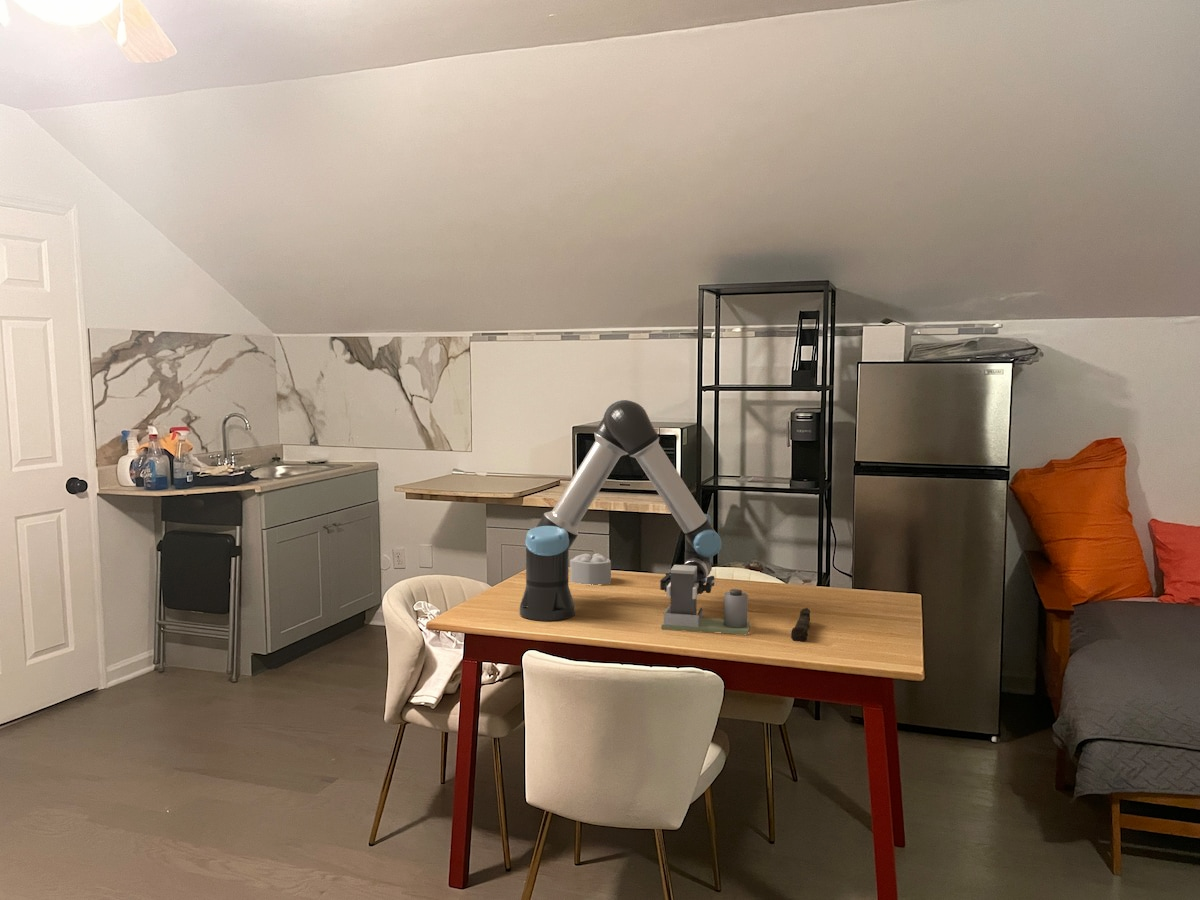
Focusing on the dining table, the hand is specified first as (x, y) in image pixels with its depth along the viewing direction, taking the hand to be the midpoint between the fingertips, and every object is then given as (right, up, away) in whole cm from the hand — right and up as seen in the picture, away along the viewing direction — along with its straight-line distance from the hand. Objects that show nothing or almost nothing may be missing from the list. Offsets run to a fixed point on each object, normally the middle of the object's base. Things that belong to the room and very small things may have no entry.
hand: (680, 593), depth 221 cm
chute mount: (+1, -8, +5) cm, 10 cm away
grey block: (+1, -7, +5) cm, 9 cm away
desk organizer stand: (+7, -10, +4) cm, 13 cm away
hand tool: (+31, -11, +1) cm, 33 cm away
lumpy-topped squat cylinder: (-23, -6, +57) cm, 62 cm away
